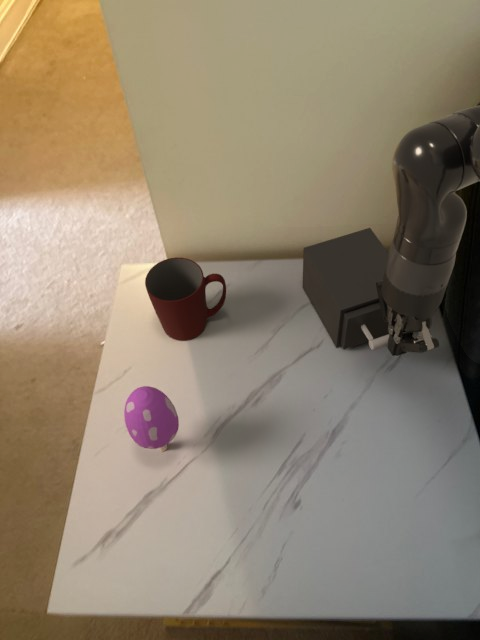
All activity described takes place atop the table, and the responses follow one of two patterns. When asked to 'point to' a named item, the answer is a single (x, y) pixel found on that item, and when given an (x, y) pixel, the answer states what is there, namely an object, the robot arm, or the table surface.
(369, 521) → the table surface
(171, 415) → the toy
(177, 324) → the mug
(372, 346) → the drawer
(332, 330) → the cabinet
